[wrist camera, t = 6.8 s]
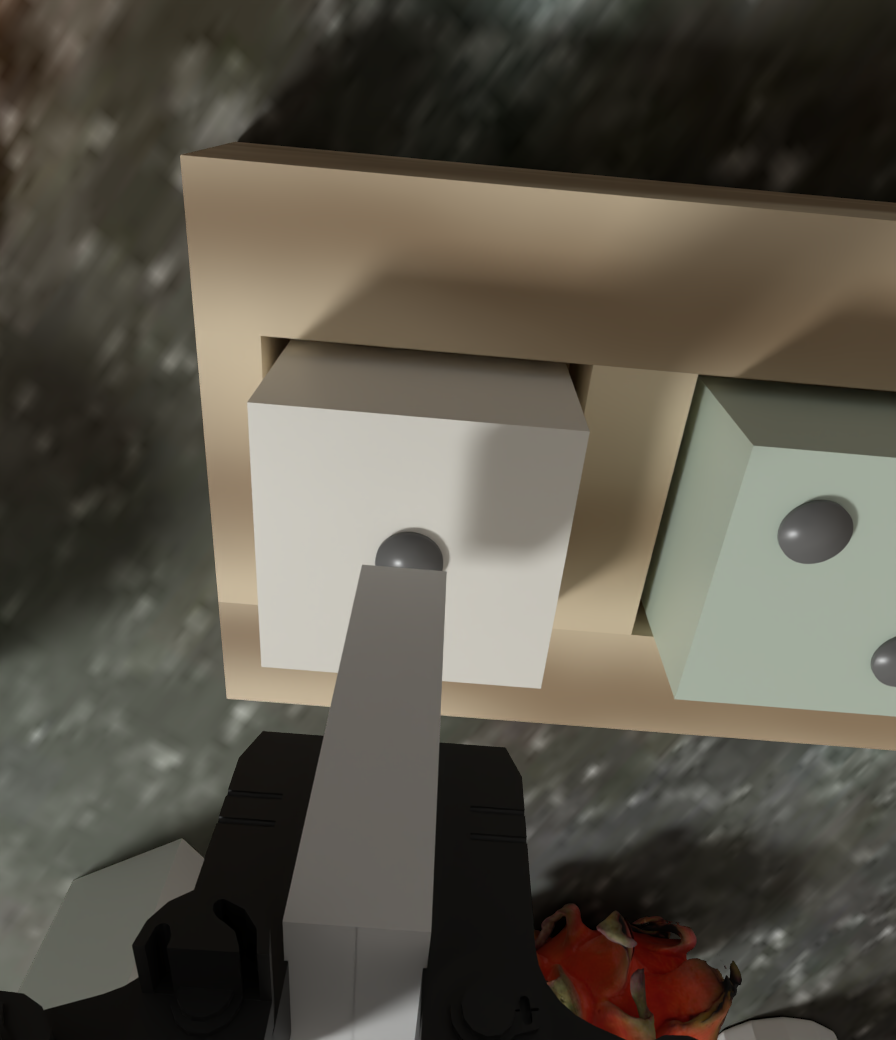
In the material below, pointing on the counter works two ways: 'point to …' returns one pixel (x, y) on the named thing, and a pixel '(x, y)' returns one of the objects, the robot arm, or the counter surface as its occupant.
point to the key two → (780, 549)
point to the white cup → (778, 1030)
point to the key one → (414, 498)
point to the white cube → (107, 924)
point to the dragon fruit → (634, 976)
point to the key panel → (537, 337)
